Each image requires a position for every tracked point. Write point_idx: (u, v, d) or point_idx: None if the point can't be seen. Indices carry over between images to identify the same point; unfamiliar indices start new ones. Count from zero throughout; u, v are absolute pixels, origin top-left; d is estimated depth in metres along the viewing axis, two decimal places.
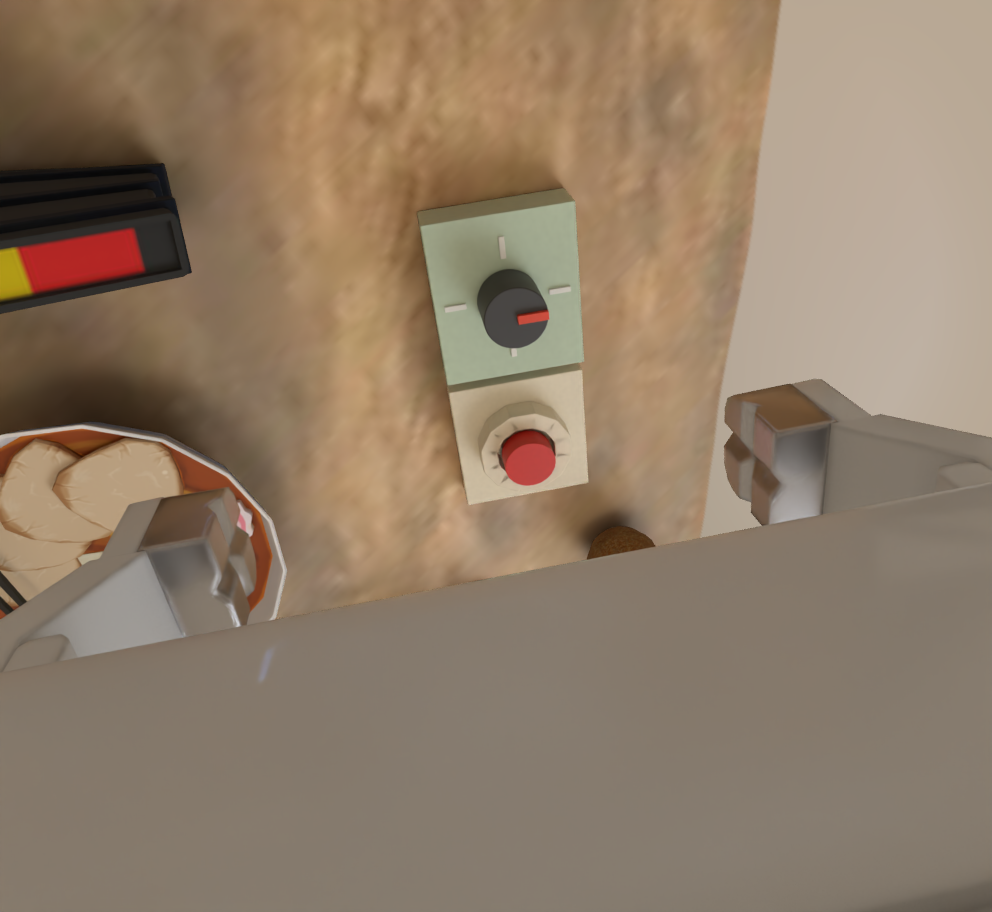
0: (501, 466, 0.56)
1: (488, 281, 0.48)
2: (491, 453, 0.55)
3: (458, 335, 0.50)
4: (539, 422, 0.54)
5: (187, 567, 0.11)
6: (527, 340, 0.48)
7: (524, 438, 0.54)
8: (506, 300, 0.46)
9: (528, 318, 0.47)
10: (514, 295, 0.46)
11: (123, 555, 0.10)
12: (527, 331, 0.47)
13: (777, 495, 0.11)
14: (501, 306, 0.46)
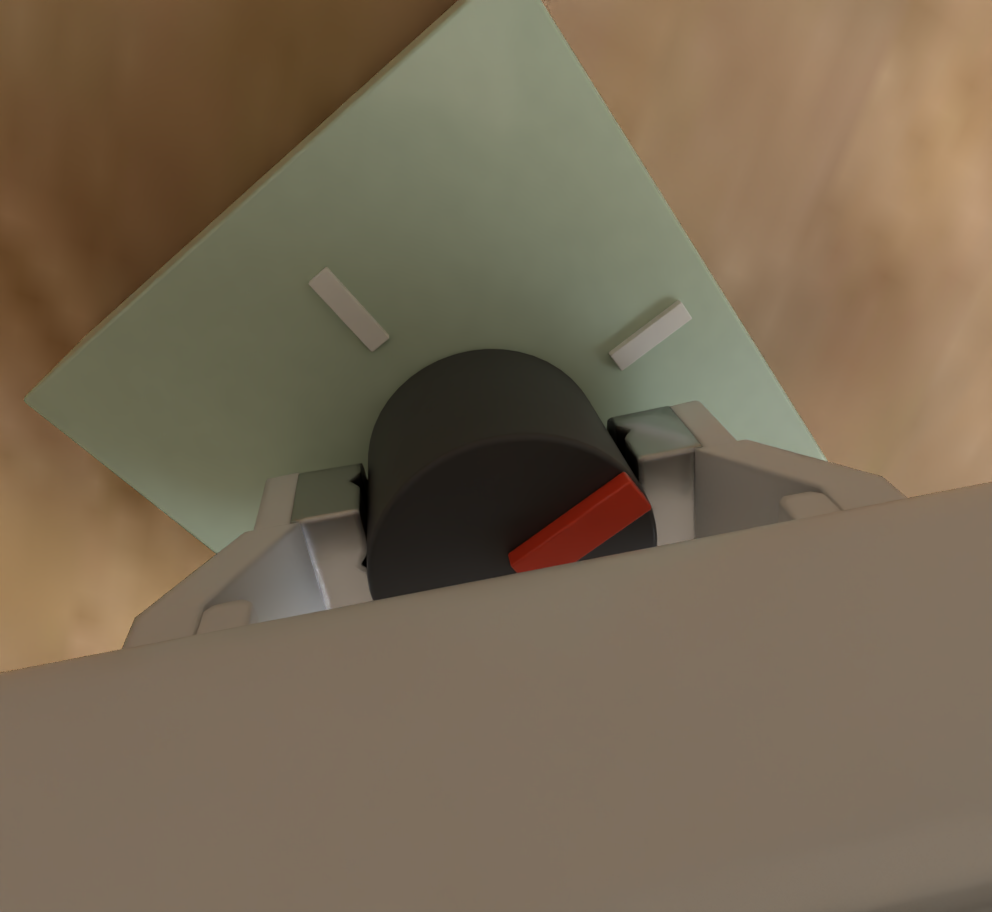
0: None
1: (371, 451, 0.12)
2: None
3: None
4: None
5: (337, 539, 0.11)
6: None
7: None
8: (427, 528, 0.10)
9: (561, 551, 0.10)
10: (447, 494, 0.10)
11: (278, 526, 0.10)
12: None
13: None
14: (423, 559, 0.10)
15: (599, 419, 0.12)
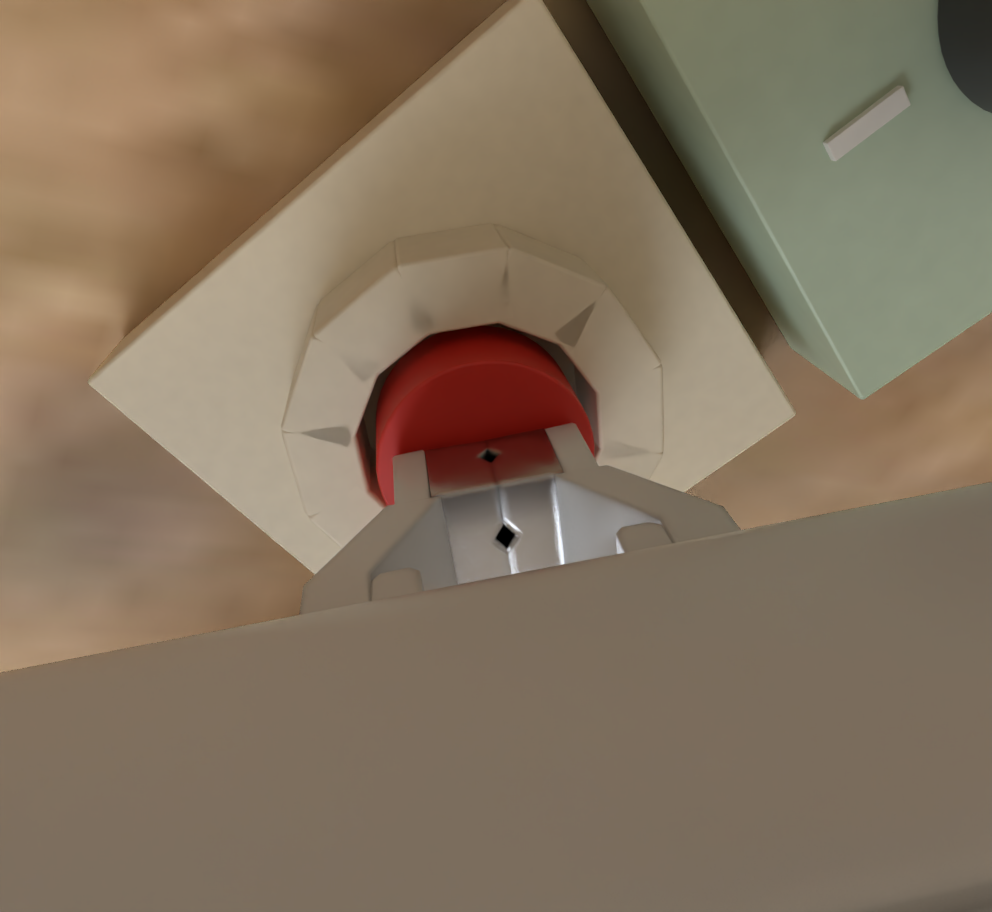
0: None
1: None
2: (413, 310, 0.12)
3: None
4: (632, 402, 0.13)
5: (474, 513, 0.11)
6: None
7: (561, 375, 0.13)
8: None
9: None
10: None
11: (420, 500, 0.11)
12: None
13: (514, 545, 0.11)
14: None
15: None
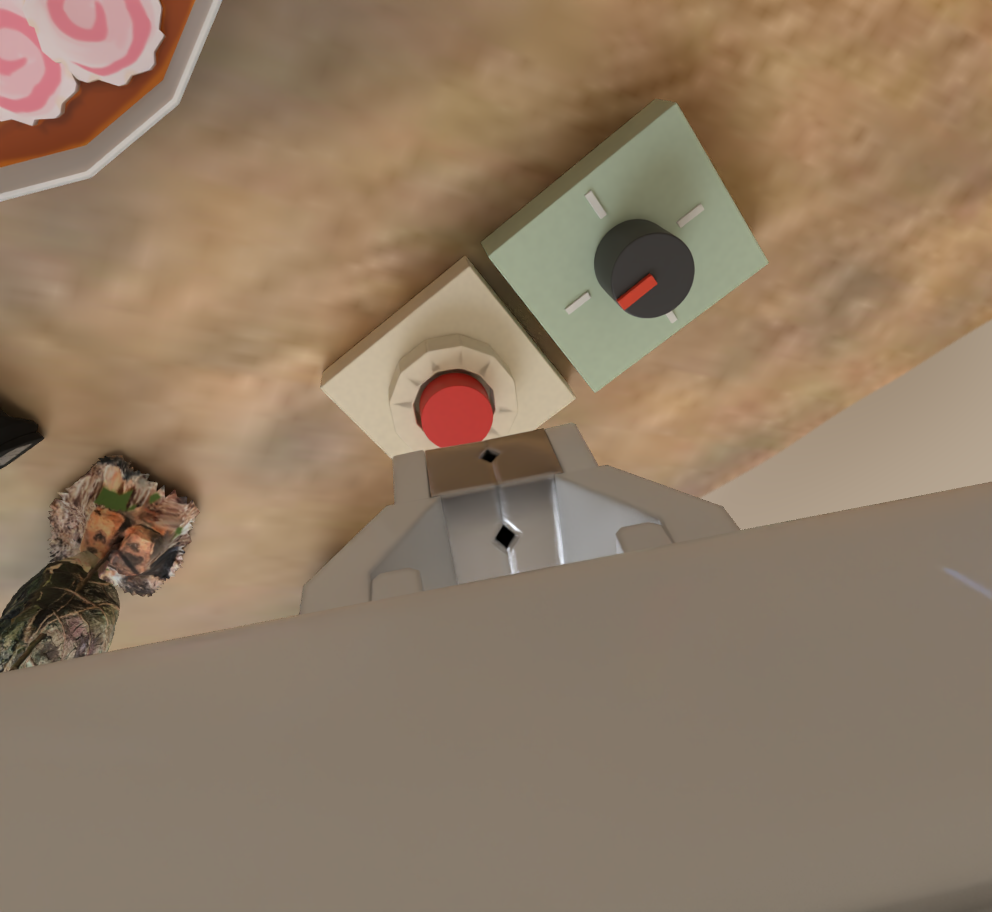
0: None
1: None
2: (432, 365, 0.38)
3: (561, 229, 0.37)
4: (505, 393, 0.40)
5: (474, 513, 0.11)
6: (626, 258, 0.35)
7: (482, 389, 0.39)
8: (676, 291, 0.36)
9: (643, 288, 0.35)
10: (670, 301, 0.36)
11: (419, 500, 0.11)
12: (632, 269, 0.35)
13: (513, 545, 0.11)
14: (679, 281, 0.36)
15: (607, 293, 0.37)
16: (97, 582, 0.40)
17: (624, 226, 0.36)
